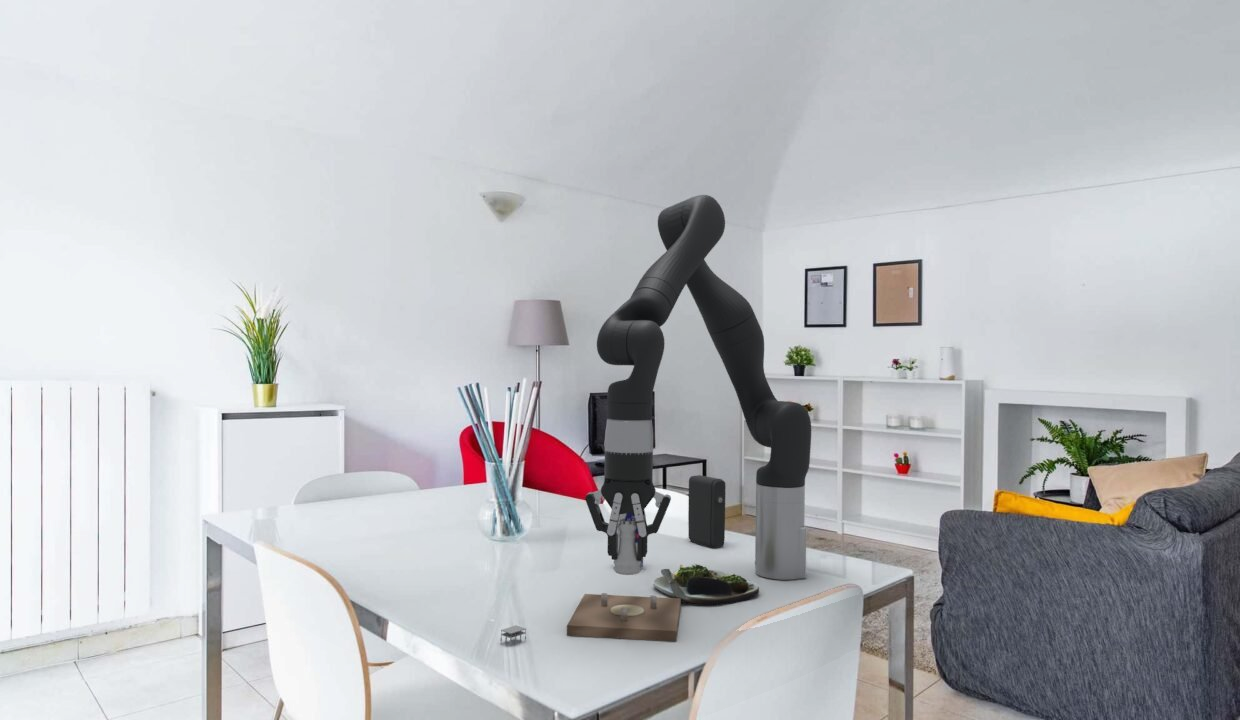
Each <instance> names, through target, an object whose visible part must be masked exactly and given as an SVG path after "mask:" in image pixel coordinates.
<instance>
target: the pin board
mask: <svg viewBox="0 0 1240 720" xmlns="http://www.w3.org/2000/svg"><path fill="white" fill-rule="evenodd" d="M681 602H682V601H681V598H673V597H661V596H660V597H658V596H657V595H650V596H638V595H636V596H634V595H619V594H618V595H616V594H613V595H612V594H608V593H607V592H604V593H601V594H597V593H584V595H583V596H582V598H581V599H580V602H579V603H578V605H577V607H576V608H575V610H574V612H573V613H572V615H571V617H570V620H568V622H567V624H566V636H571V637H586V638H587V637H588V638H606V639H607V638H608V639H625V640H642V641H643V640H644V641H660V642H661V641H662V642H677V641H678V639H677V638H678V631H679V630H678V629H679V624H680V617H681V616H680V615H681V609H682V608H681V606H682V605H681V604H682V603H681Z"/></svg>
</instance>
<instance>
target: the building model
mask: <svg viewBox="0 0 1240 720" xmlns="http://www.w3.org/2000/svg"><path fill="white" fill-rule="evenodd" d="M502 632H503V633H502ZM526 632H527V628H526V627H523V626H519V625H517V624H515V625H512V626H510V627H509V626H508V627H507V628H503V629H501V630H500V636H503V637H505V643H508V642H507V639H508V638H509V639H510V640H509V645H512V639H513V638H514V644H517V637H519V641H520V642H522V635H525V636H524V640H527V636H526V634H527V633H526ZM499 640H500V644H502V641H503V640H502V637H500V639H499Z"/></svg>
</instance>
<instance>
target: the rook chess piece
mask: <svg viewBox="0 0 1240 720" xmlns="http://www.w3.org/2000/svg"><path fill="white" fill-rule="evenodd" d="M617 527H618V528H619V530H620V535H619V537H620V545H619V551H618V554H617V558H616V560H613V565H614V566H613V567H612V569H613V571H614V572H615V573H616V574H618V575H624V576H631V575H637V574H639V573H640V572H641V571H642V569H641V567H639V565H640V564H641V561H637V551H636V544H635V538H636V537H637V536H636V534H635V531H636V529H637V528H638V527H637V524H636V520H635V519H632V521H630V519H627V521H625V519H622V520H621V519H620V523H619V525H618V526H617Z"/></svg>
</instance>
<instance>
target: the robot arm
mask: <svg viewBox="0 0 1240 720" xmlns="http://www.w3.org/2000/svg"><path fill="white" fill-rule="evenodd" d="M725 219H726V218H725V213H724V211H723V208H722V207H721V205H720V203H719V202H718V200H716V198H714V197H713V196H711V195H708V194H699V195H696V196H691V197H689V198H688V199H685V200H683V201H680V202H677V203H675V204H672V205H671V206H668V207H666V208H664V209H662V210H661V211H660V212H659V214H658V218H657V228H658V232H659V237H660V239H661V242H662V244H663V246H664V248H665V250H666V251H665V252H664V253H663V254H662V255H660V257H659V258H658V259H657V260H655V262H654V263H652V265H650V266H649V268H648V269H647V270H646V271H645V272H644V273H643V275H642V277H641V278H640V280H639V282H638V283H637V285H636V287H635V288H634V290H633V292H632V293H631V296H630V298H629V299H628V300H627V301H625V302H624V303H622V304H621V306H619V307H618V308H617V310H616V311H614V312H613V313H612V314H610V316H609V317H608V318H607V319H606V320H605V321H604V323H603V324H602V326H601V327H600V329H599V331H598V334H597V339H596V350H597V354H598V355H599V358H600V359H601V360H602V362H605V364H608V365H612V366H633V368H632V371H631V373H630V375H629V376H628V378H626V379H623V380H622V379H621V380H617V381H615V382H612V383H610V384H609V386H608V389H607V393H606V394H607V396H606V397H607V399H606V400H607V401H606V405H607V406H606V425H605V426H606V427H605V433H604V445H603V447H604V476H603V477H604V479H603V484H602V486H601V488H600V489H599V490H595V491H594V492H593V491H589V492H588V493H587V494H586V495H585V496H584V499H585V502H586V505H587V506H586V507H587V508H588V510H589V513H590V516H591V519H592V521H593V525H594V527H595V529H596V531H597V532H603V533H605V534H606V536H607V555H608V557H609V556H611V560H613V561H614V560H616V558H617V554H618V534H617V526H618V521H619V518H620V514H625V513H628V514H632V515H635V519H636V523H637V527H638V532H639V535H638V544H637V561H642V559H643V560H644V558H646V556H647V554H648V538H649V535H653V534H656V533H658V531H659V529H660V527H661V525H662V522H663V521H664V517H665V515H666V513H667V510H668V508H669V505H670V503H671V500H672V497H671V495H669V494H664V493H661V492H658V491H656V487H655V485H654V483H653V479H654V478H653V477H654V476H653V472H654V471H653V469H654V468H653V467H654V466H653V465H654V431H653V428H654V427H653V421H652V419H653V392H654V388H655V385H656V381H657V376H658V373H659V369H660V365H661V361H662V359H663V357H664V356H663V355H664V352H665V336H664V332H663V330H662V329H661V327H662V326H663V325H664V324H665V323H666V322H667V320H668V319H669V317H670V315H671V313H672V311H673V309H674V308H675V306H676V304H677V302H678V300H679V297H680V295H681V294H682V292H683V291H684V288H685V286H687V289H688V290H689V292H690V294H691V296H692V298H693V300H694V302H695V304H696V306H697V308H698V311H699V313H700V315H701V317H702V320H703V322H704V325H705V327H706V329H707V331H708V333H709V337H710V338H711V341H712V343H713V345H714V347H715V349H716V351H717V353H718V355H719V357H720V359H721V362H722V363H723V367H724V368H725V370H726V372H727V375H728V377H729V380H730V382H731V384H732V386H733V388H734V390H735V393H736V396H737V398H738V402H739V405H740V408H741V412H742V414H743V417H744V420H745V423H746V425H747V428H748V431H749V433H750V436H751V437H752V438H753V440H754V441H755V442H756V443H758V444H759V445H760V446H762V447H763V446H764V447H765V448H766V447H767V448H770V456H769V460H768V462H767V463H766V464H765V465H762V466H760V467H759V468H758V469H757V470H756V473H755V478H756V479H755V482H756V483H755V542H754V543H755V544H754V545H755V546H754V550H755V551H754V552H755V553H754V554H755V555H754V556H755V557H754V567H755V568H754V572H755V574H756V575H758V576H760V577H763V578H766V579H772V580H783V581H784V580H785V581H787V580H796V579H806V577H807V576H806V573H807V572H806V570H807V569H806V568H807V567H806V566H807V561H806V560H807V528H806V526H805V520H806V519H805V515H806V514H805V513H806V512H805V511H806V510H805V508H806V507H805V506H806V504H805V500H806V495H805V494H806V486H805V485H806V477H807V474H808V472H809V469H810V462H811V461H810V460H811V447H812V446H811V445H812V421H811V417H810V414H809V411H808V409H806V407H805V406H804V405H802V404H801V403H799V402H795V401H785V400H783V401H782V400H778V399H777V398H776V397H775V395H774V393H773V391H772V389H771V386H770V384H769V383H768V379H767V377H766V374H765V368H764V360H765V337H764V333H763V330H762V328H761V325H760V322H759V321H758V318H757V316H756V313H755V311H754V309H753V307H752V305H751V304H750V302H749V301H748V300H747V299H746V298H745V296H744V295H742V294H741V293H740V292H739V291H737V289H735V288H734V287H732V286H730V285H729V284H728V283H727V282H726V281H724V280H722V279H721V277H719V276H718V275H717V274H716V273H715V272H714V271H713V270H712V269H711V268H710V266H709V264H708V263H707V261H706V260H705V259H706V258H707V256H708V255H709V254H710V252H711V251H712V250H713V249H714V247H716V245H717V244H718V243H719V241H720V240H721V239H722V237H723V235H724V232H725V228H726V220H725ZM602 497H603V498H604V500H605V501H606V503H607V504H608V505H609V507H610V509H611V511H610V515H609V521H608V522H607V521H605V518H604V515H603V513H602V511H601V508H600V504H601V502H602V499H601V498H602ZM653 499H654V500H655V503H654V504H655V506H656V508H658V509H657V510H656V511H657V512H656V513H655V514H656V515H655V516H654V519H653V522H652V523H651V524H647V519H646V518H647V517H646V516H647V515H646V512H645V509H646V508H647V506H648V505H649V504H650V503H651V501H652V500H653Z"/></svg>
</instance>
